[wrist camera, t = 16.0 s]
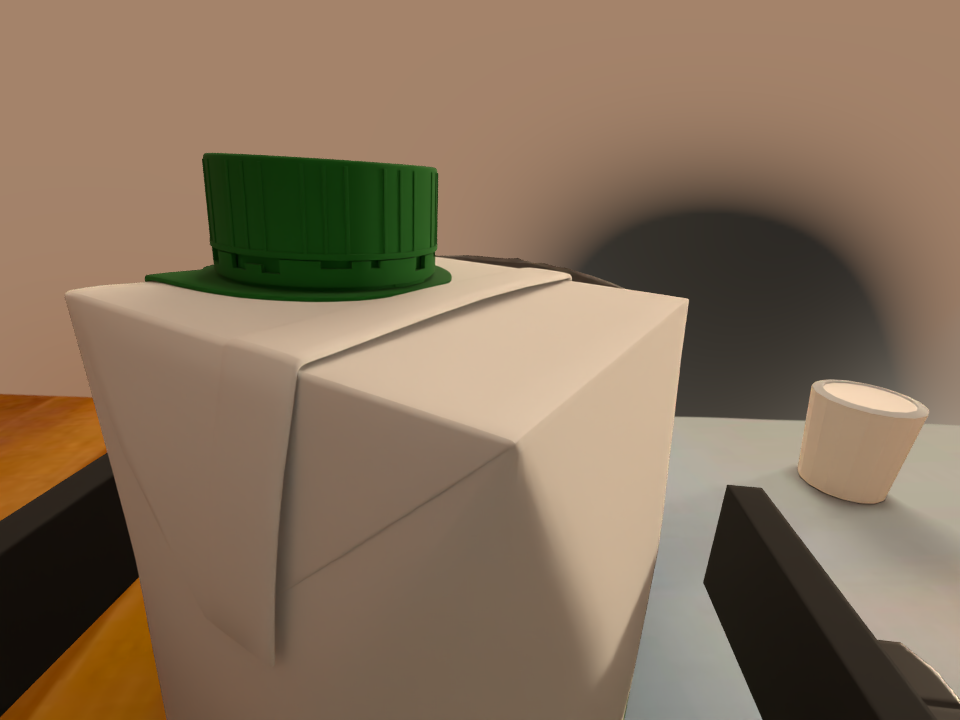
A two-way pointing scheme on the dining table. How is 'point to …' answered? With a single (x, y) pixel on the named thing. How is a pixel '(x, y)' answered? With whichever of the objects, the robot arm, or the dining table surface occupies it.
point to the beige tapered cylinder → (857, 439)
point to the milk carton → (381, 459)
